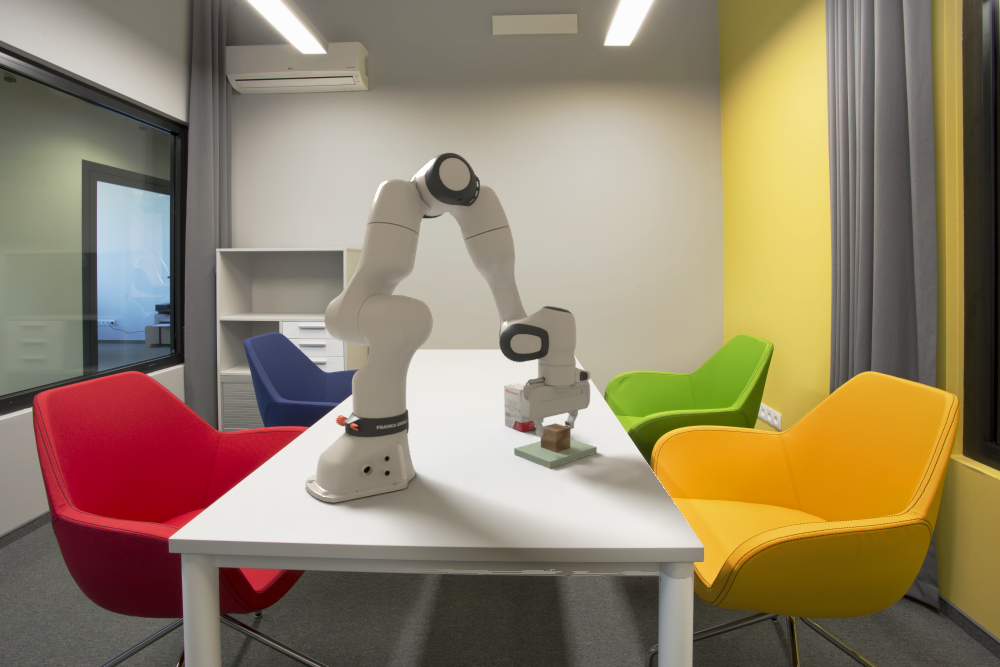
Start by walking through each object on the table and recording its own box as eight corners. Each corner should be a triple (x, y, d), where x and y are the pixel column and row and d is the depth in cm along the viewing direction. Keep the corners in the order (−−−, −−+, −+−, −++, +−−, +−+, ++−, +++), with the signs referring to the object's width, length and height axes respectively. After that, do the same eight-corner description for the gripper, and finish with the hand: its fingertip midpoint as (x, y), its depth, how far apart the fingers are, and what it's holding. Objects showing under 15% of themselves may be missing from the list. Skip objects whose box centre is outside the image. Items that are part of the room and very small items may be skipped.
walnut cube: (555, 452, 127) (555, 431, 126) (540, 447, 130) (540, 427, 130) (570, 448, 130) (570, 427, 129) (555, 443, 134) (555, 423, 133)
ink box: (535, 429, 150) (536, 388, 149) (521, 432, 147) (521, 390, 146) (517, 422, 157) (517, 382, 156) (503, 425, 154) (503, 384, 153)
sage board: (549, 468, 121) (549, 461, 120) (514, 454, 130) (514, 448, 130) (596, 453, 131) (596, 447, 131) (560, 441, 140) (560, 435, 140)
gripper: (533, 382, 119) (532, 443, 120) (595, 372, 132) (593, 427, 133) (514, 378, 124) (514, 437, 125) (575, 368, 136) (574, 422, 138)
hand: (555, 432), depth 129 cm, fingers open, 8 cm apart
